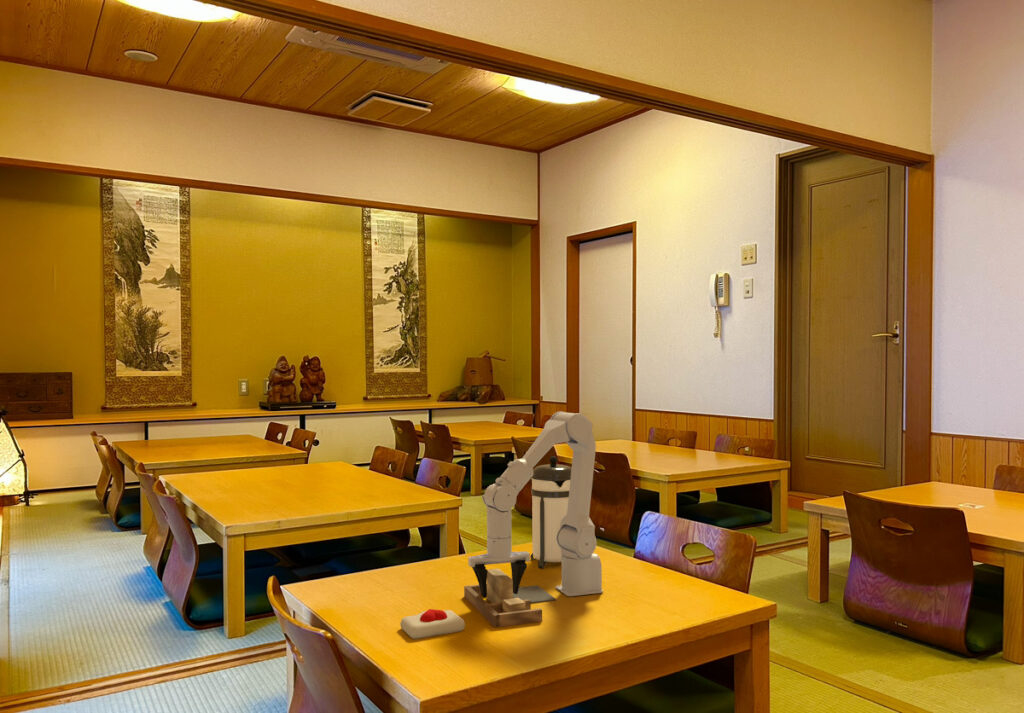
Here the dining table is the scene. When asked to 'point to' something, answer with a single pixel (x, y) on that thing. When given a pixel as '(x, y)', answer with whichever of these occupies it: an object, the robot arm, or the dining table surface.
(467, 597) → the rack
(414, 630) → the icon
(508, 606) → the offcut upper
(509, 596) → the tan wooden block
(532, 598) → the mat
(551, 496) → the coffee press
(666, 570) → the dining table surface
